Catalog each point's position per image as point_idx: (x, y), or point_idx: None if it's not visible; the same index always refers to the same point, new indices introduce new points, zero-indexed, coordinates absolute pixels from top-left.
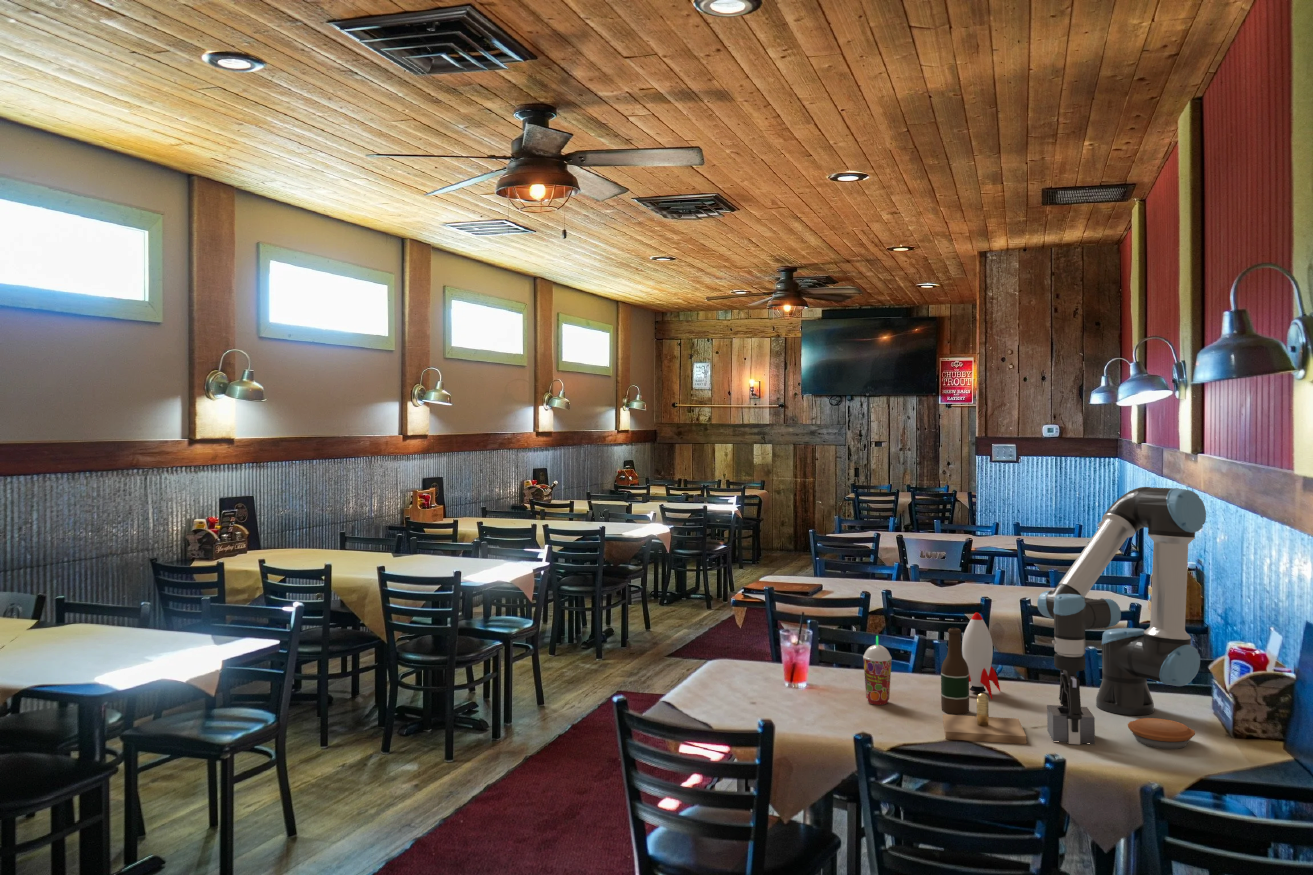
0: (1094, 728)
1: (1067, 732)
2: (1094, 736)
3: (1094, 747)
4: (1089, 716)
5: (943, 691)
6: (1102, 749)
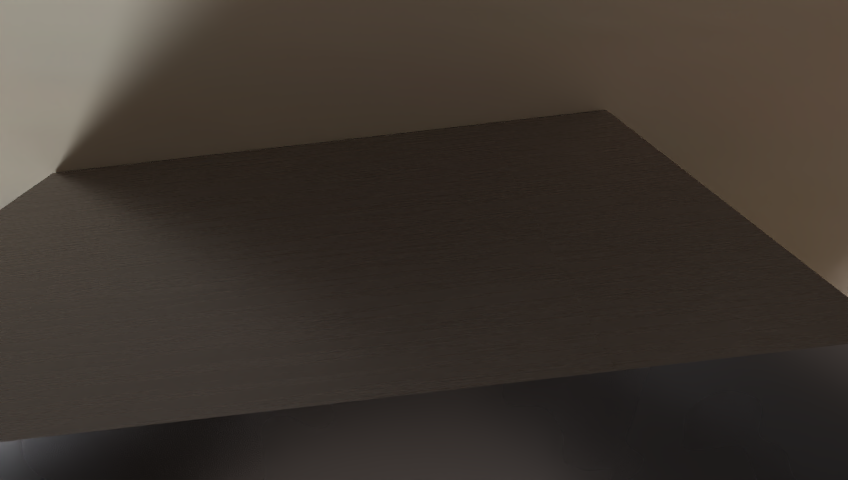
0: (721, 201)
1: None
2: (654, 149)
3: (728, 122)
4: (765, 447)
5: None
6: (812, 21)
